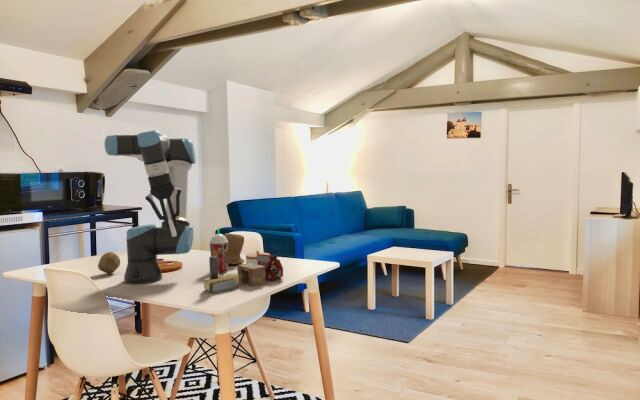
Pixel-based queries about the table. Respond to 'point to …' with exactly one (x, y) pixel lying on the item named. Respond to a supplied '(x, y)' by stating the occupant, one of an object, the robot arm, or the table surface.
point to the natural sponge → (109, 262)
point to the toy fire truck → (270, 266)
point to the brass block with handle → (217, 274)
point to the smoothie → (220, 251)
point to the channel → (223, 286)
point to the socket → (251, 274)
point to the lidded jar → (253, 257)
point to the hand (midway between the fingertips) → (174, 235)
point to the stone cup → (234, 248)
